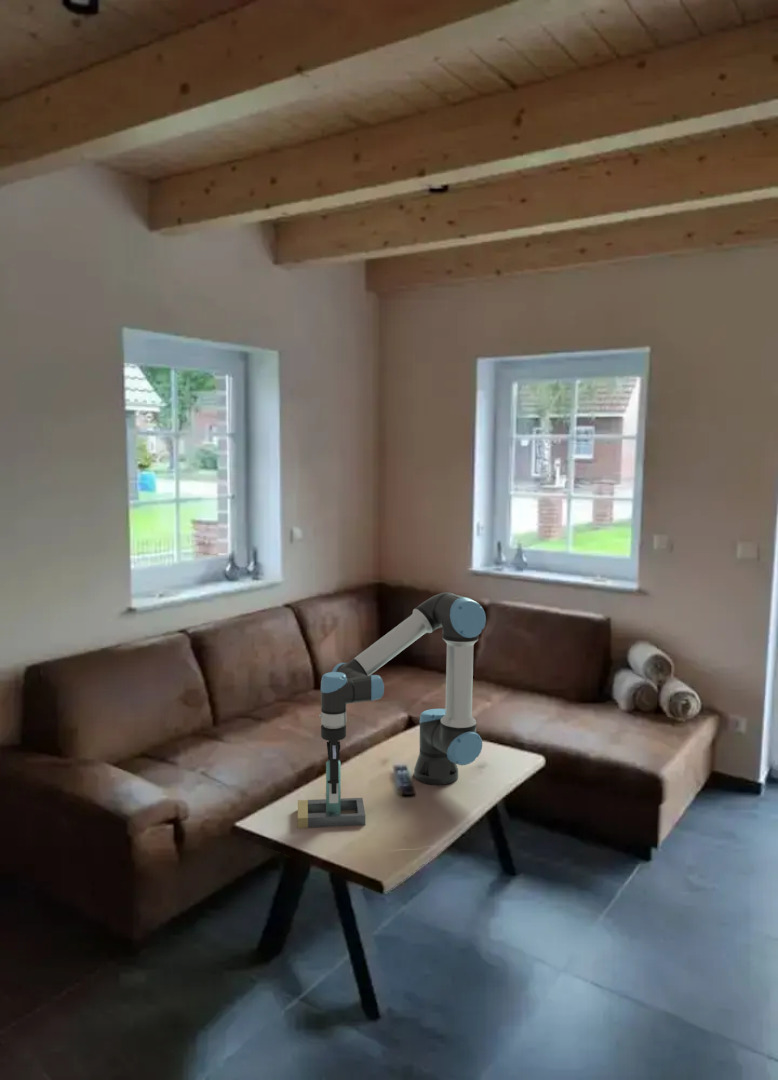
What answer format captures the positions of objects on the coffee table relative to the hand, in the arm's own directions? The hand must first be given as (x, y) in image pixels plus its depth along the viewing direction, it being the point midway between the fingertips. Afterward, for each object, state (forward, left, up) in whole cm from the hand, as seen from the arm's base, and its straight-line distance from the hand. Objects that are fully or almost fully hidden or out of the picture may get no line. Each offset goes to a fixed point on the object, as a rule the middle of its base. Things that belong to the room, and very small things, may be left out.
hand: (333, 798), depth 238 cm
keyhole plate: (+1, 0, -6) cm, 6 cm away
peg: (0, 0, -5) cm, 5 cm away
